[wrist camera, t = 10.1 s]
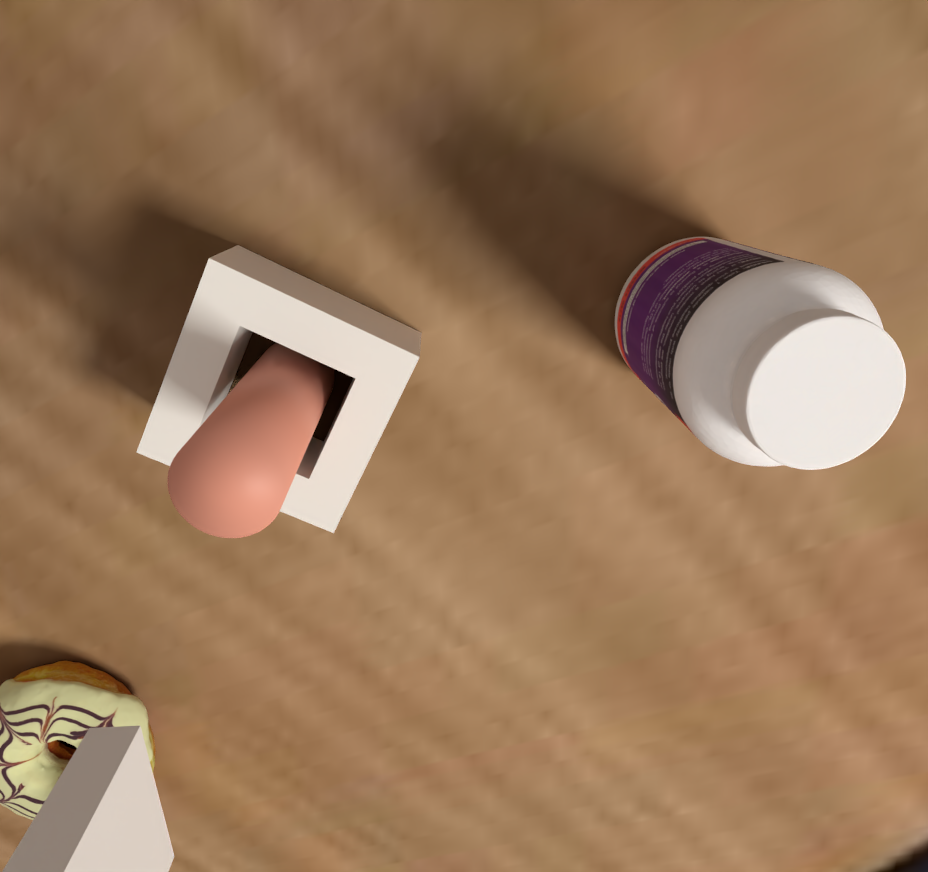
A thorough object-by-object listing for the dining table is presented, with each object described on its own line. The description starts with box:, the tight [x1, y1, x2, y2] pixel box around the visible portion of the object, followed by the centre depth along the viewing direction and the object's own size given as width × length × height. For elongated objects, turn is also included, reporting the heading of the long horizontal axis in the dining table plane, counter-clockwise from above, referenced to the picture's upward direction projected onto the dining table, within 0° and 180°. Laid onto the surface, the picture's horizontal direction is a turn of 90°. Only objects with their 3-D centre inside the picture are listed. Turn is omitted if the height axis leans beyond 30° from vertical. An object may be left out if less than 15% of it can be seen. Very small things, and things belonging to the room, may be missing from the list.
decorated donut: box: [0, 660, 155, 820], centre depth 45 cm, size 10×11×4 cm
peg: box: [168, 342, 335, 538], centre depth 32 cm, size 4×4×14 cm
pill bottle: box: [615, 237, 906, 470], centre depth 31 cm, size 8×8×14 cm
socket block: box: [137, 245, 421, 533], centre depth 36 cm, size 10×10×5 cm
